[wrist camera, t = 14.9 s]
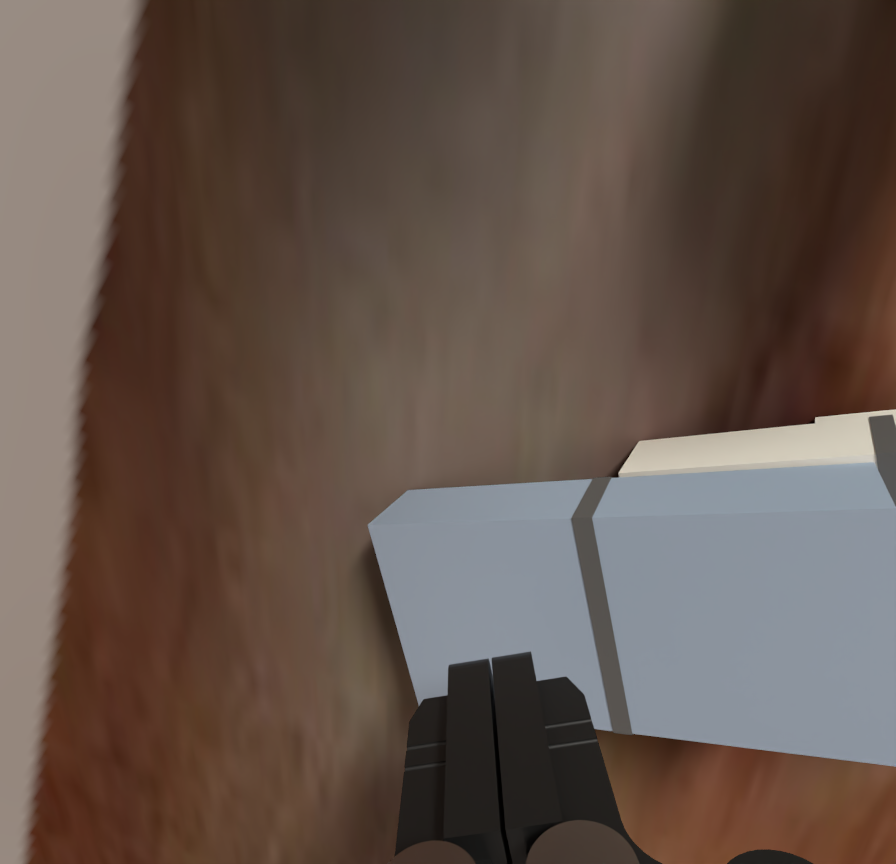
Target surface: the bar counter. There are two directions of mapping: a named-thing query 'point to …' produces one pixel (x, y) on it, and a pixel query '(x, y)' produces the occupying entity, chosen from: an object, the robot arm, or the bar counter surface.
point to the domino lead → (667, 599)
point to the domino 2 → (773, 449)
